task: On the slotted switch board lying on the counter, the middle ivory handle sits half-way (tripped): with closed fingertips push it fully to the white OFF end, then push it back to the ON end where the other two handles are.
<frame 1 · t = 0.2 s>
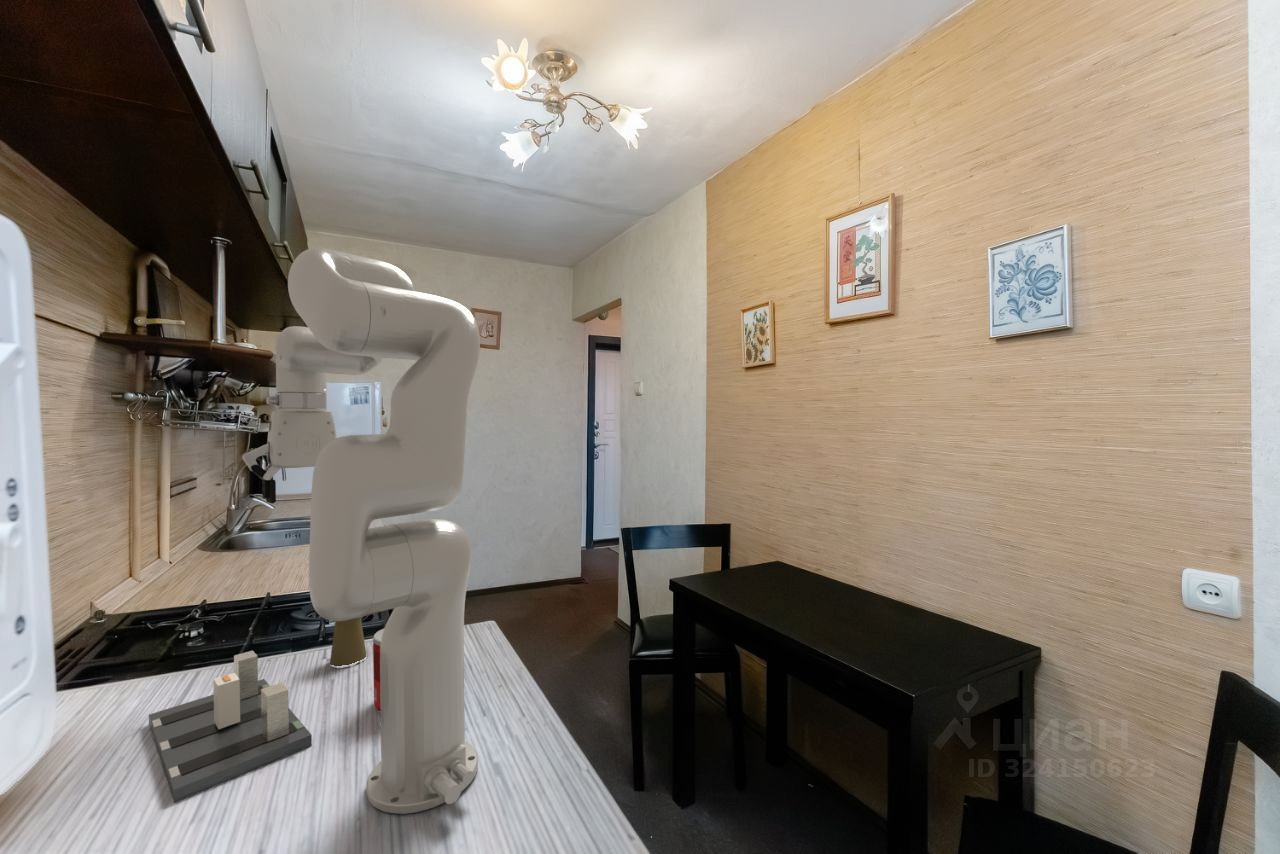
hand: (303, 499, 93), 31 cm above the kitchen counter, tool pointing down, fingers open, 9 cm apart
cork: (348, 661, 96), on the kitchen counter
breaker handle: (226, 699, 73), point 5 cm above the kitchen counter, slide at 0.0 cm
slotted switch board: (227, 734, 73), on the kitchen counter
canned food: (401, 703, 81), on the kitchen counter
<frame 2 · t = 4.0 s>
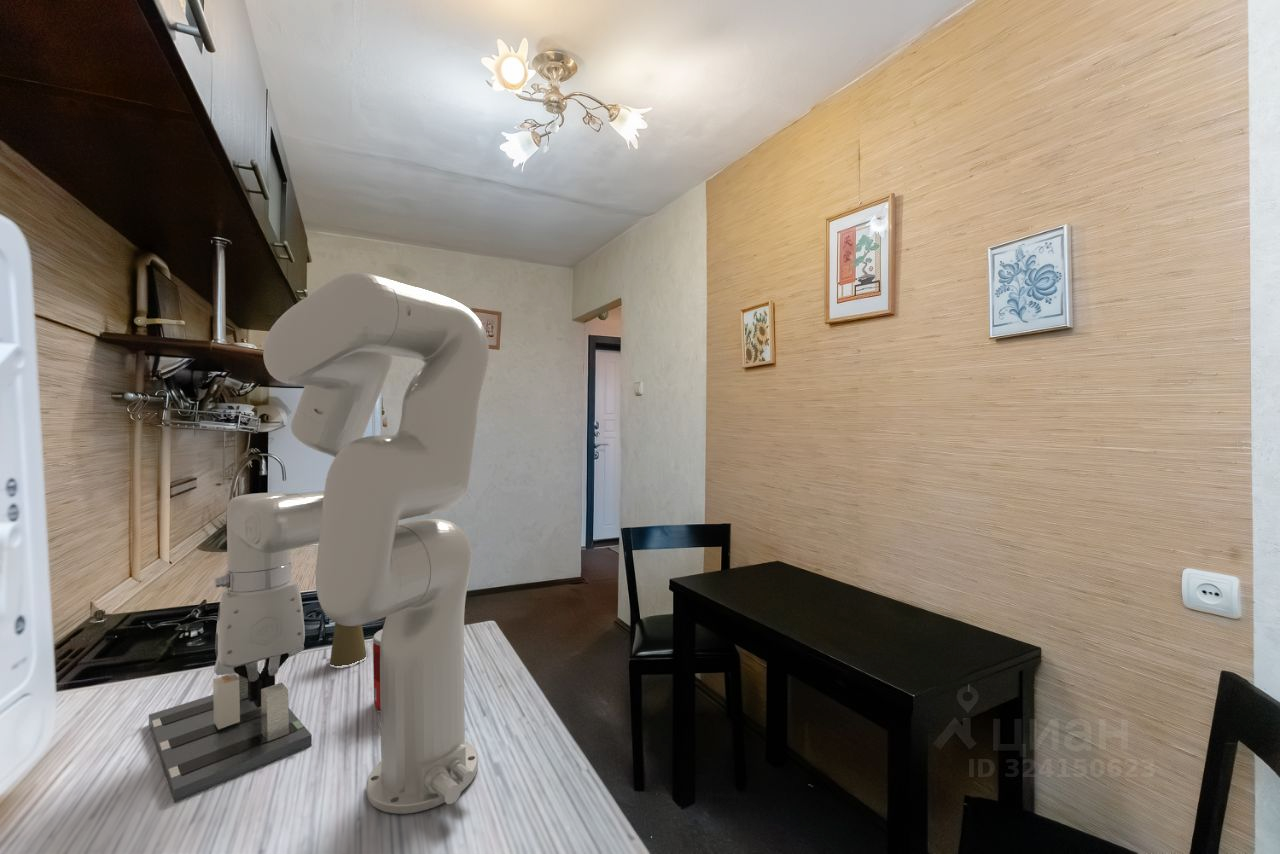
hand: (261, 702, 76), 3 cm above the kitchen counter, tool pointing down, fingers closed
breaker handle: (226, 699, 73), point 5 cm above the kitchen counter, slide at 0.0 cm, touching gripper
everything else where it was.
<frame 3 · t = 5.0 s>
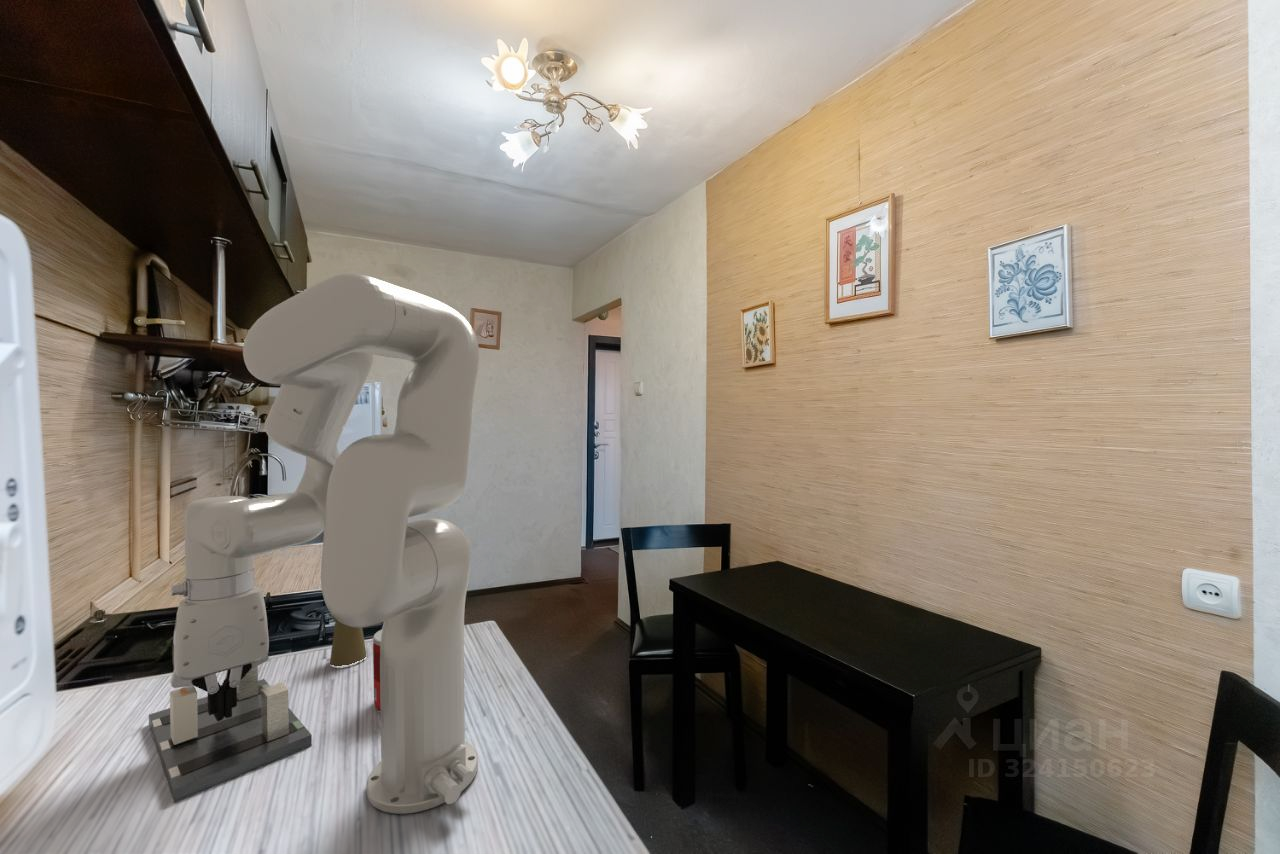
hand: (222, 715, 73), 3 cm above the kitchen counter, tool pointing down, fingers closed
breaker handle: (183, 713, 69), point 5 cm above the kitchen counter, slide at 4.6 cm, touching gripper
everything else where it was.
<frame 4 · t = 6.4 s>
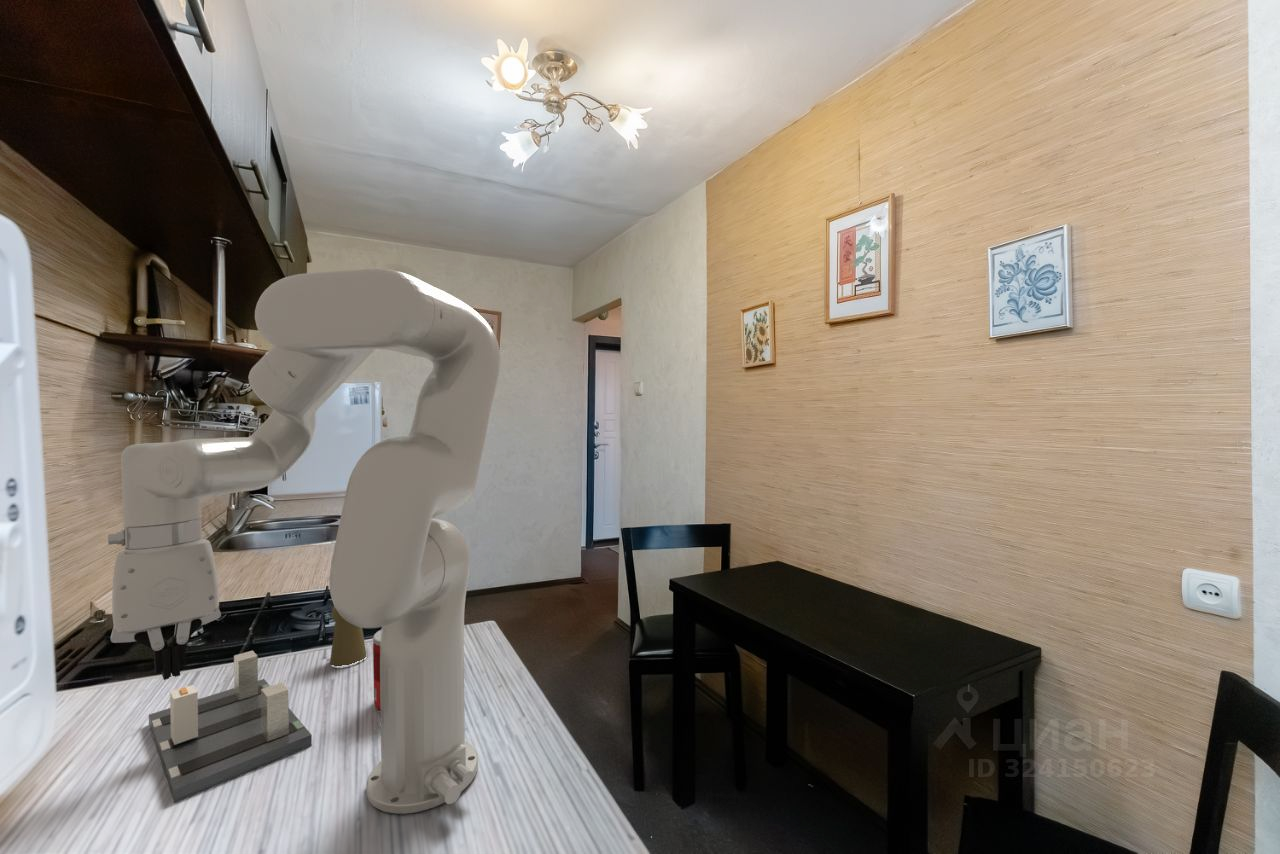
hand: (170, 674, 68), 11 cm above the kitchen counter, tool pointing down, fingers closed
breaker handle: (184, 713, 70), point 5 cm above the kitchen counter, slide at 4.6 cm
everything else where it was.
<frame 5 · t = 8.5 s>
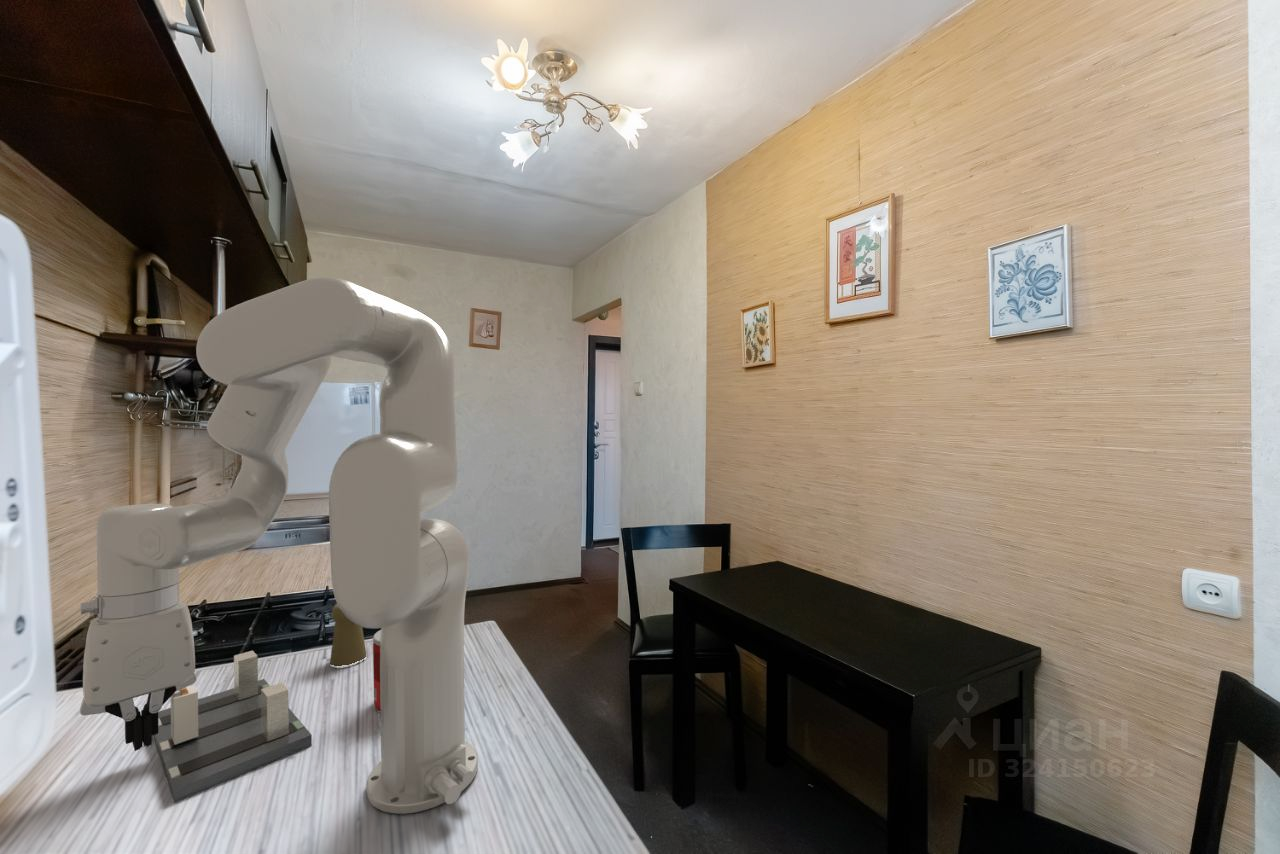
hand: (142, 743, 66), 3 cm above the kitchen counter, tool pointing down, fingers closed
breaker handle: (184, 713, 70), point 5 cm above the kitchen counter, slide at 4.5 cm, touching gripper
everything else where it was.
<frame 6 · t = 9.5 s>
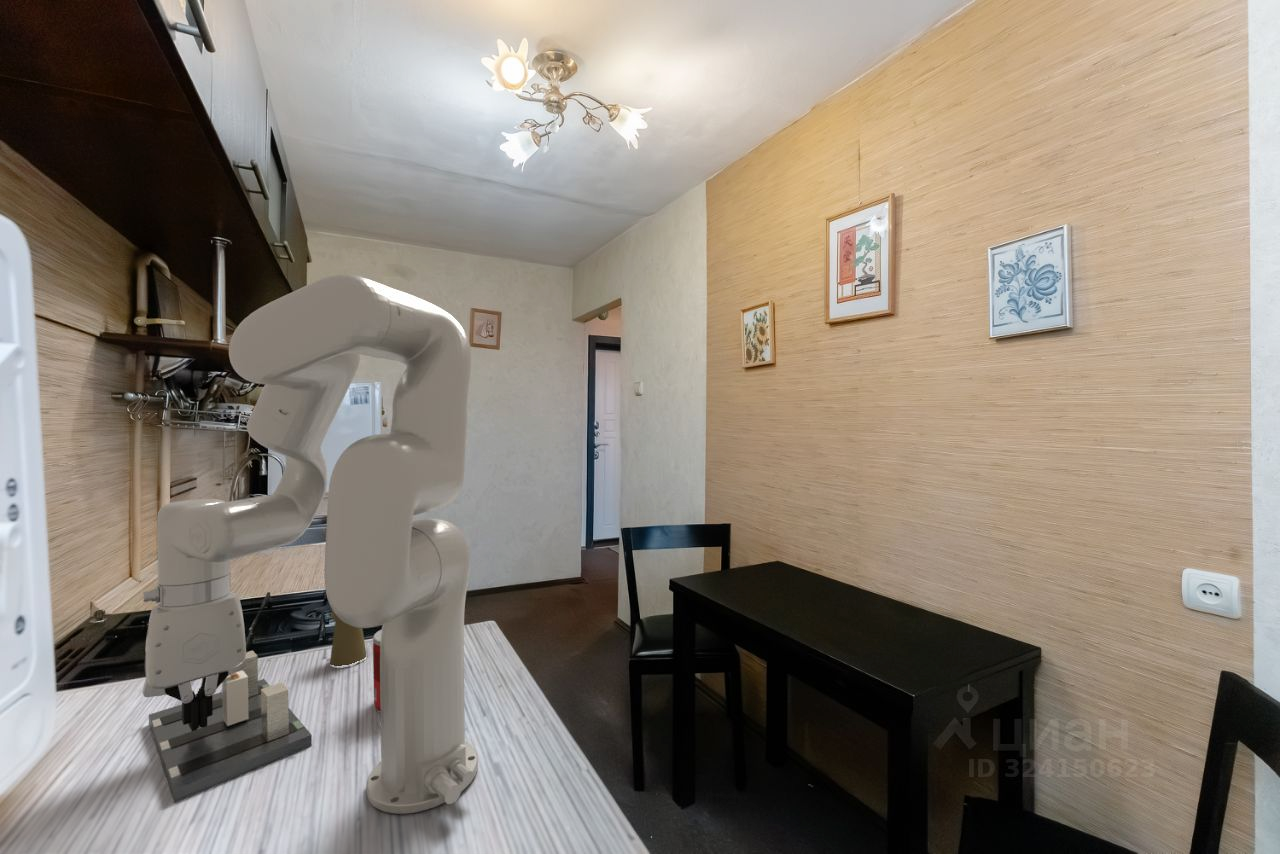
hand: (197, 724, 71), 3 cm above the kitchen counter, tool pointing down, fingers closed
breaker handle: (235, 696, 74), point 5 cm above the kitchen counter, slide at -1.0 cm, touching gripper
everything else where it was.
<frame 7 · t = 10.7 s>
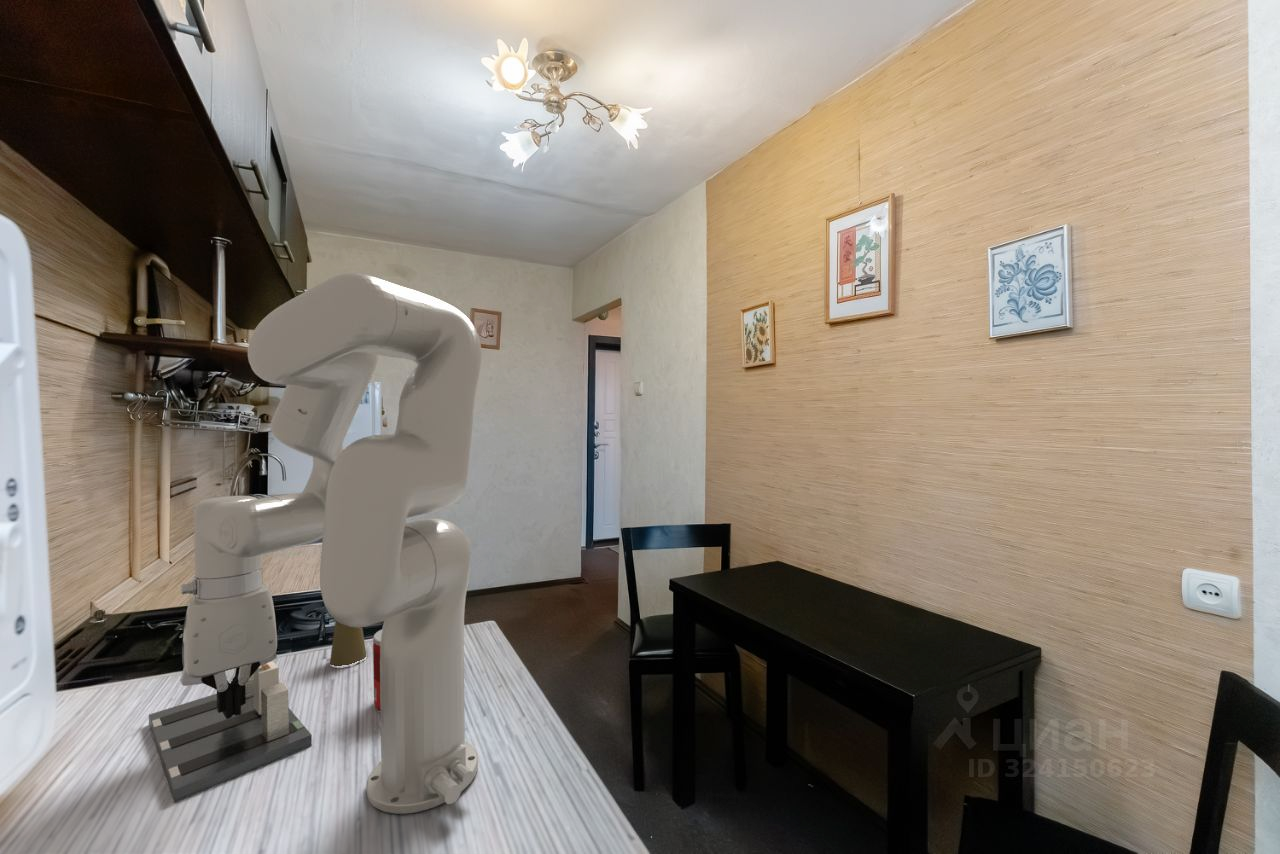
hand: (231, 713, 73), 3 cm above the kitchen counter, tool pointing down, fingers closed
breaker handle: (266, 686, 76), point 5 cm above the kitchen counter, slide at -4.6 cm, touching gripper
everything else where it was.
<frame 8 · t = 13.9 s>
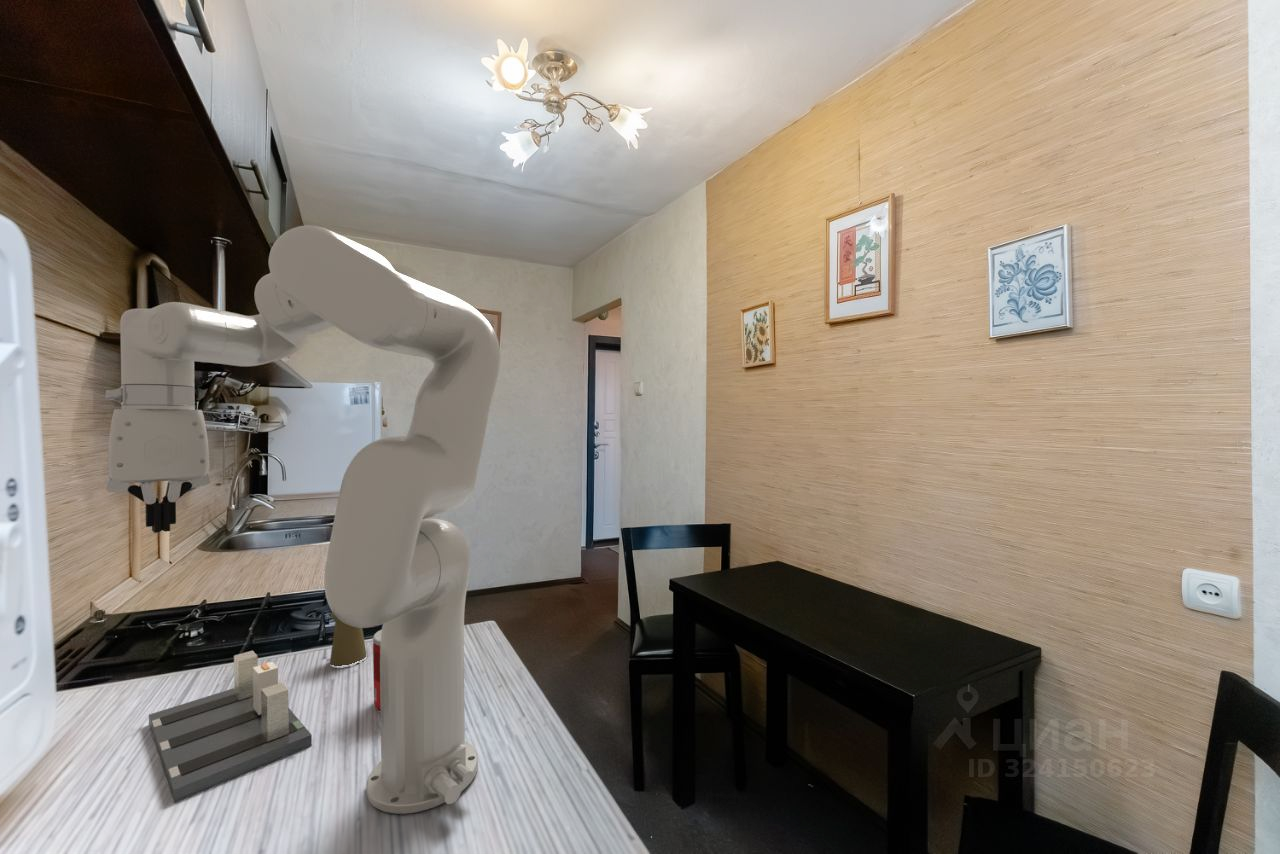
hand: (161, 530, 72), 29 cm above the kitchen counter, tool pointing down, fingers closed
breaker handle: (265, 687, 76), point 5 cm above the kitchen counter, slide at -4.6 cm
everything else where it was.
at the end: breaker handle slide at -4.6 cm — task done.
